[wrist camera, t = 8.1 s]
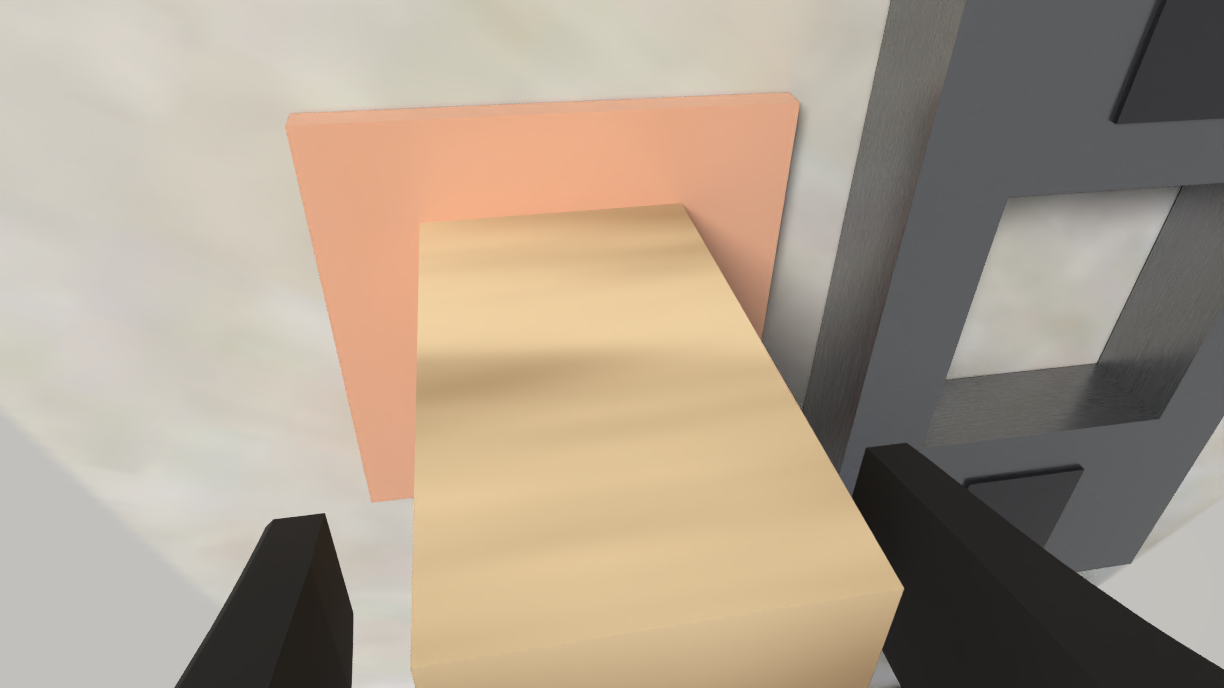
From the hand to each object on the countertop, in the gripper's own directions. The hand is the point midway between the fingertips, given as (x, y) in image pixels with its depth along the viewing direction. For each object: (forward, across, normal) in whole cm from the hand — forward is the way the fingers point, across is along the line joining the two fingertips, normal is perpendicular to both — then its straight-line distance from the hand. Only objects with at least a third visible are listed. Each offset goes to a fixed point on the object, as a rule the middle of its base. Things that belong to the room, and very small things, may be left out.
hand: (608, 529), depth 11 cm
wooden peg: (+5, 0, 0) cm, 5 cm away
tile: (+5, 0, 0) cm, 5 cm away
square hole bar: (+5, -10, 0) cm, 11 cm away
